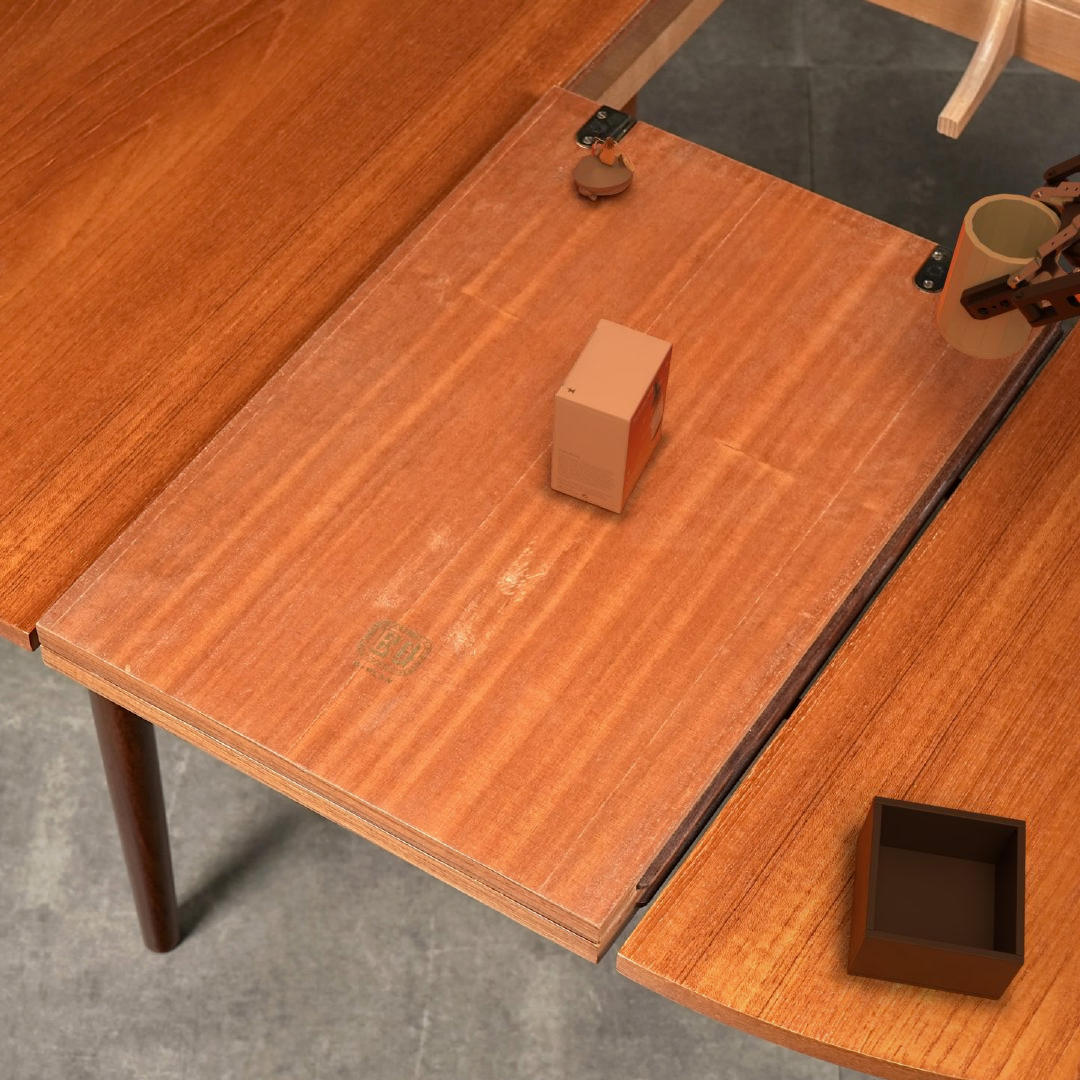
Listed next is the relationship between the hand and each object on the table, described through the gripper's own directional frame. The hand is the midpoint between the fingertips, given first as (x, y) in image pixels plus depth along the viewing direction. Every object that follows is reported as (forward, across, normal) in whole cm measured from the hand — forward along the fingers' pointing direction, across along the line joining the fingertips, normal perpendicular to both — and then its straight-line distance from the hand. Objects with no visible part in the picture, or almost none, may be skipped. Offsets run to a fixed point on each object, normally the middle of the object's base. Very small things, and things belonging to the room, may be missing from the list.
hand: (978, 269), depth 113 cm
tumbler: (+2, 0, +4) cm, 5 cm away
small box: (+26, +12, -4) cm, 29 cm away
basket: (+6, +38, +17) cm, 42 cm away
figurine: (+33, -15, -10) cm, 37 cm away
